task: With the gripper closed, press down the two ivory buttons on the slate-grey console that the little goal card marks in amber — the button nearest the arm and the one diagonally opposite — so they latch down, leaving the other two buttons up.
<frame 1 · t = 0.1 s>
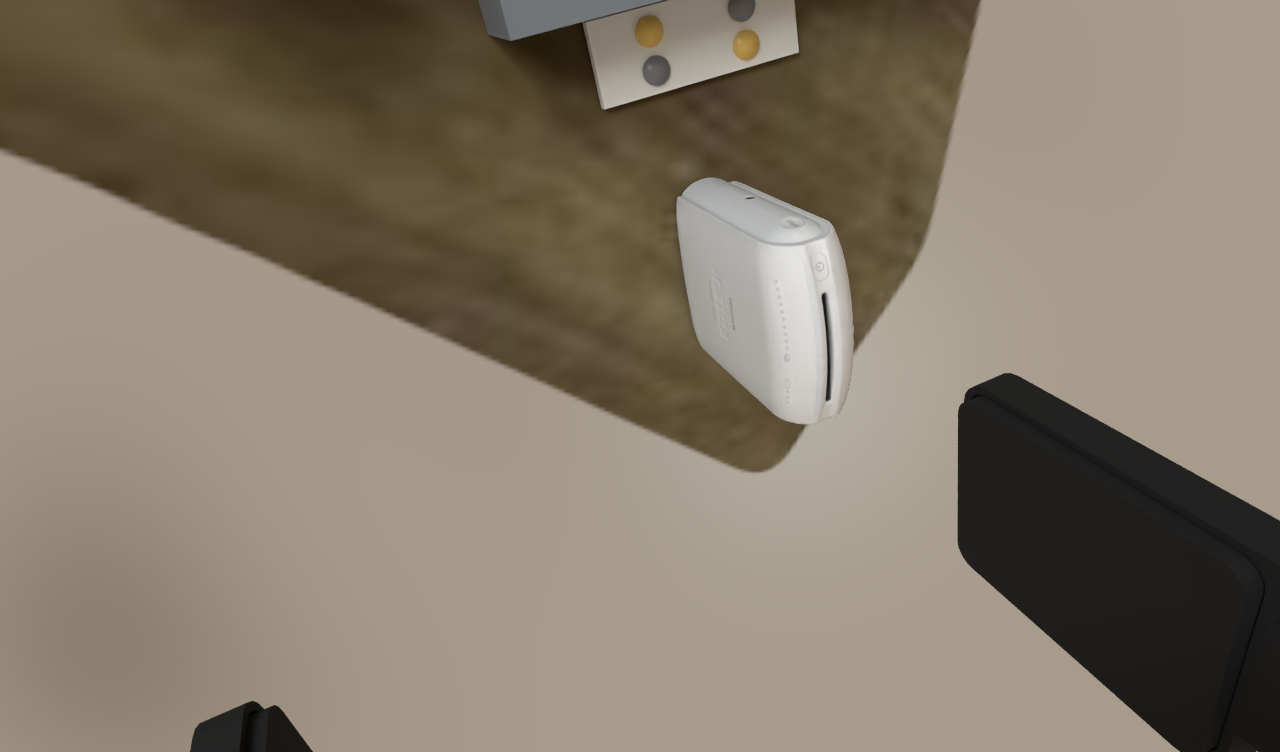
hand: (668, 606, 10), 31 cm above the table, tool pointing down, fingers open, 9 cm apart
goal card: (694, 37, 38), on the table
photo printer: (710, 261, 44), on the table
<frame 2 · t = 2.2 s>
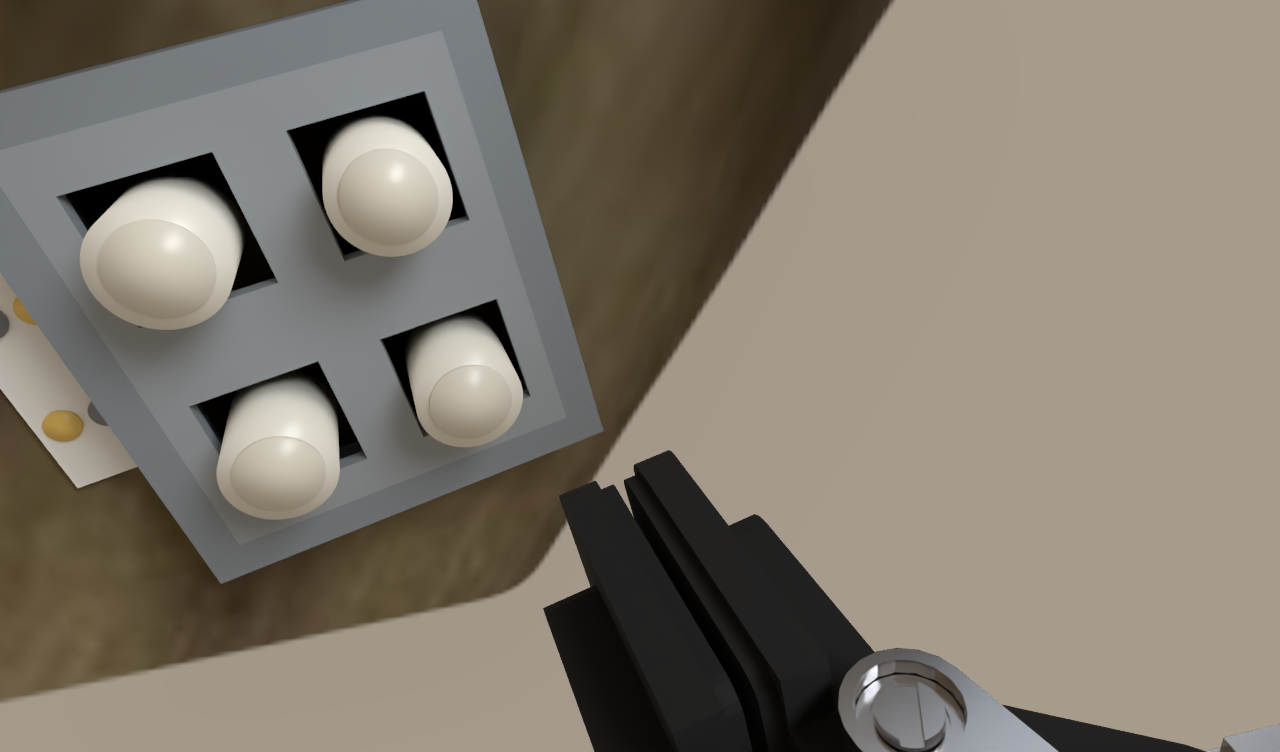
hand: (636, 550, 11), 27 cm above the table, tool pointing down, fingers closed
button C: (171, 248, 26), point 6 cm above the table, slide at 0.0 cm
goal card: (54, 362, 32), on the table
button D: (282, 443, 31), point 6 cm above the table, slide at 0.0 cm
button A: (385, 182, 28), point 6 cm above the table, slide at 0.0 cm
console: (329, 272, 34), on the table
button B: (462, 377, 32), point 6 cm above the table, slide at 0.0 cm
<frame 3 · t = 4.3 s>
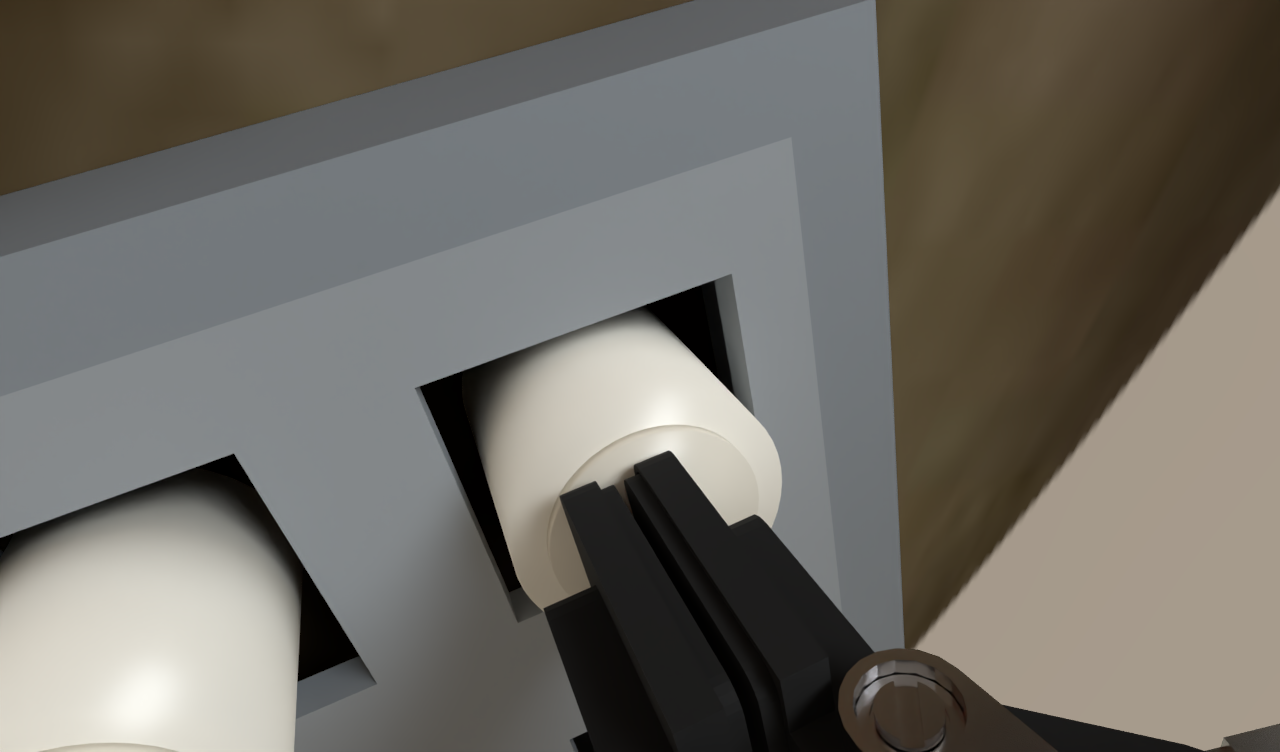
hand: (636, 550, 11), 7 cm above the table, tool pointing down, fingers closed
button C: (130, 690, 10), point 6 cm above the table, slide at 0.0 cm
button A: (607, 442, 13), point 4 cm above the table, slide at 1.3 cm, touching gripper
console: (446, 545, 18), on the table
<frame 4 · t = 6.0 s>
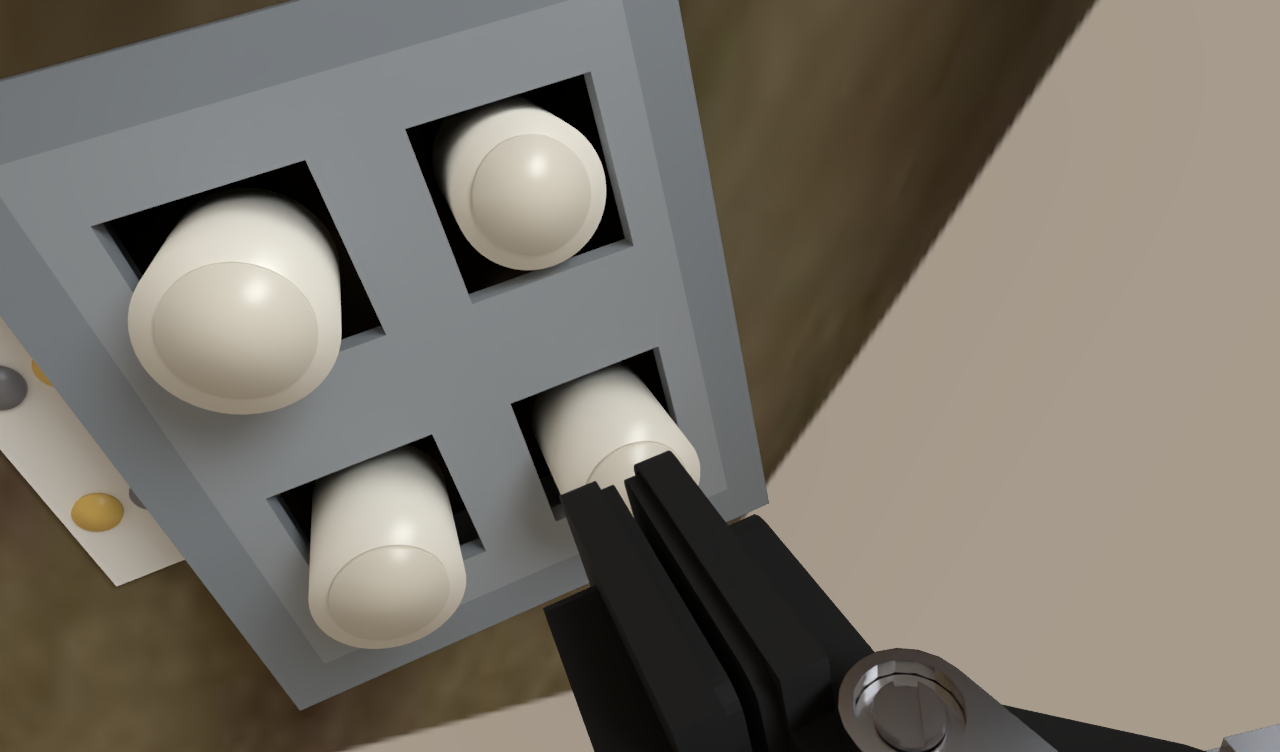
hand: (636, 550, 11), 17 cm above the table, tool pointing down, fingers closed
button C: (249, 296, 19), point 6 cm above the table, slide at 0.0 cm
goal card: (85, 433, 24), on the table
button D: (385, 541, 23), point 6 cm above the table, slide at 0.0 cm
button A: (514, 177, 22), point 3 cm above the table, slide at 2.7 cm
console: (432, 309, 26), on the table
button B: (612, 448, 25), point 6 cm above the table, slide at 0.0 cm
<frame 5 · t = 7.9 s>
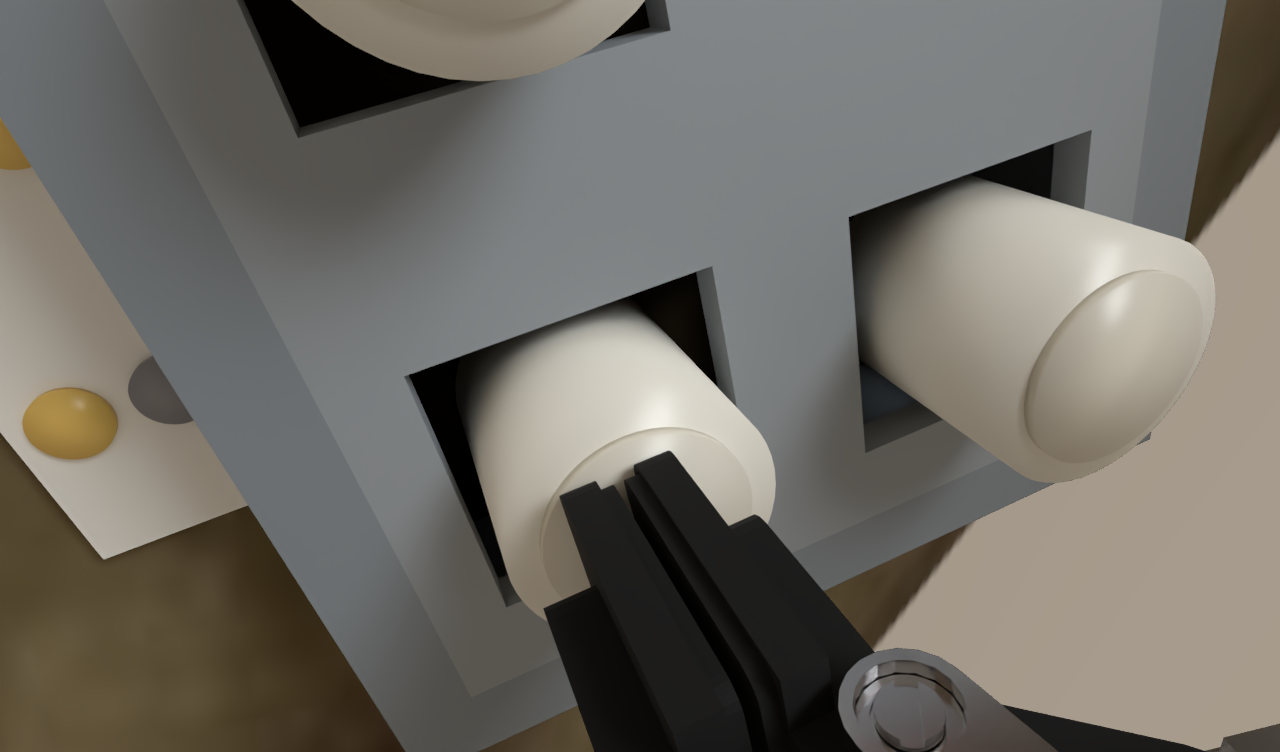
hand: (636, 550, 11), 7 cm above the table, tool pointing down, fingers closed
goal card: (50, 274, 13), on the table
button D: (601, 444, 13), point 5 cm above the table, slide at 0.9 cm, touching gripper
console: (650, 92, 16), on the table
button B: (1001, 315, 14), point 6 cm above the table, slide at 0.0 cm
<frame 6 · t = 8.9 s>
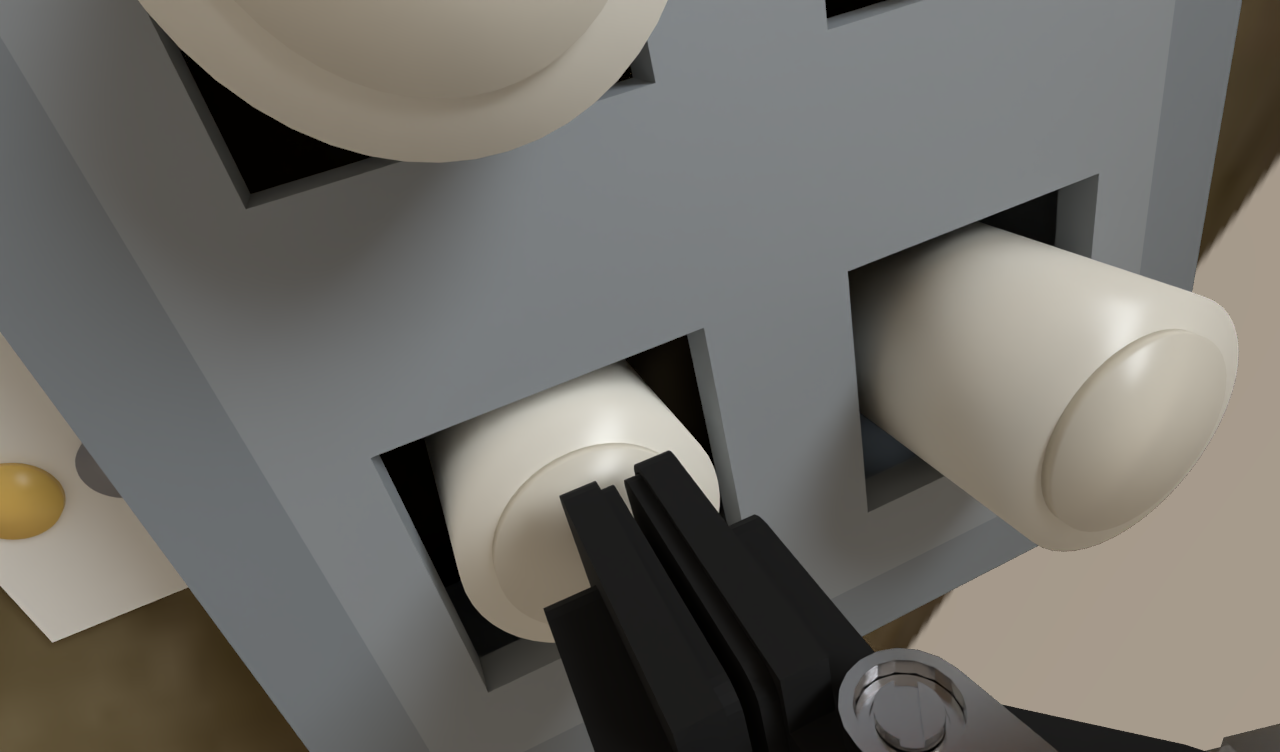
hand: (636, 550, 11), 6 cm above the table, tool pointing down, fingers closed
button D: (556, 460, 14), point 3 cm above the table, slide at 2.6 cm
console: (634, 134, 15), on the table
button B: (1009, 369, 13), point 6 cm above the table, slide at 0.0 cm
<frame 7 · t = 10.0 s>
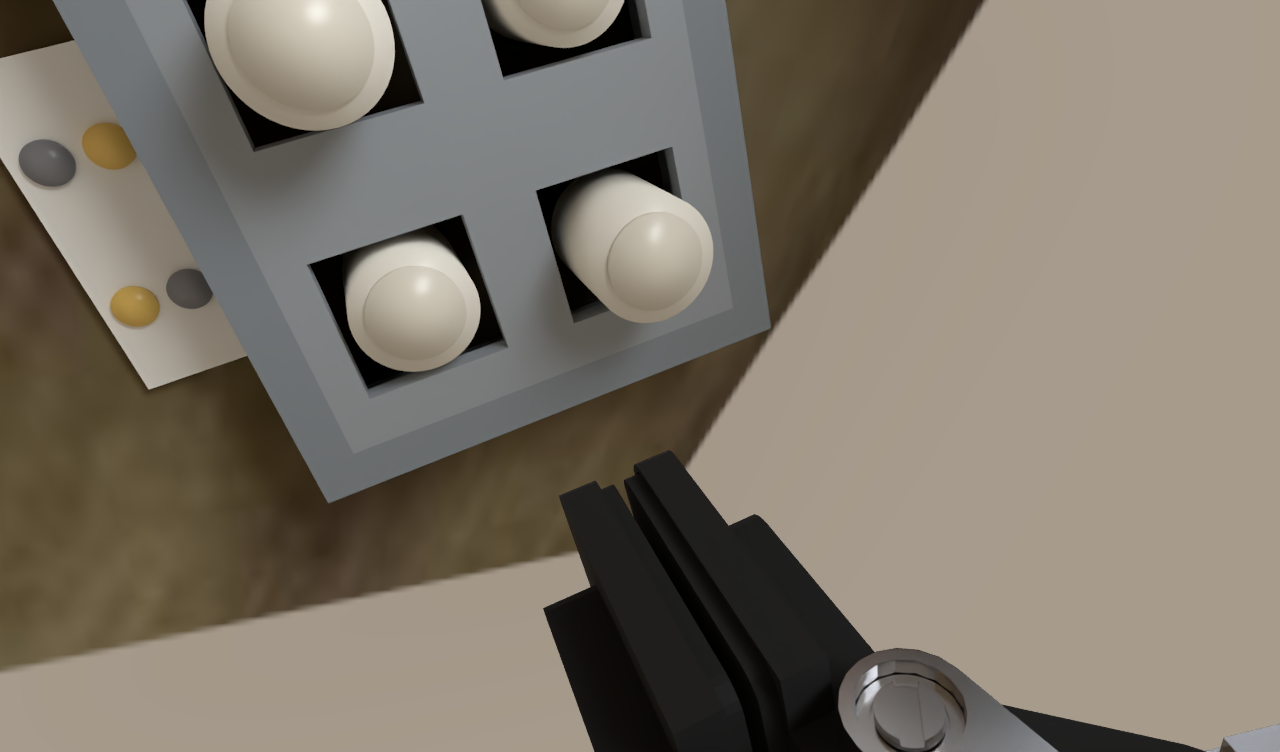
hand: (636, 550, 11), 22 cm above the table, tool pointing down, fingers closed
button C: (304, 36, 20), point 6 cm above the table, slide at 0.0 cm
goal card: (126, 225, 25), on the table
button D: (408, 291, 27), point 3 cm above the table, slide at 2.6 cm
console: (456, 127, 28), on the table
button B: (629, 242, 26), point 6 cm above the table, slide at 0.0 cm
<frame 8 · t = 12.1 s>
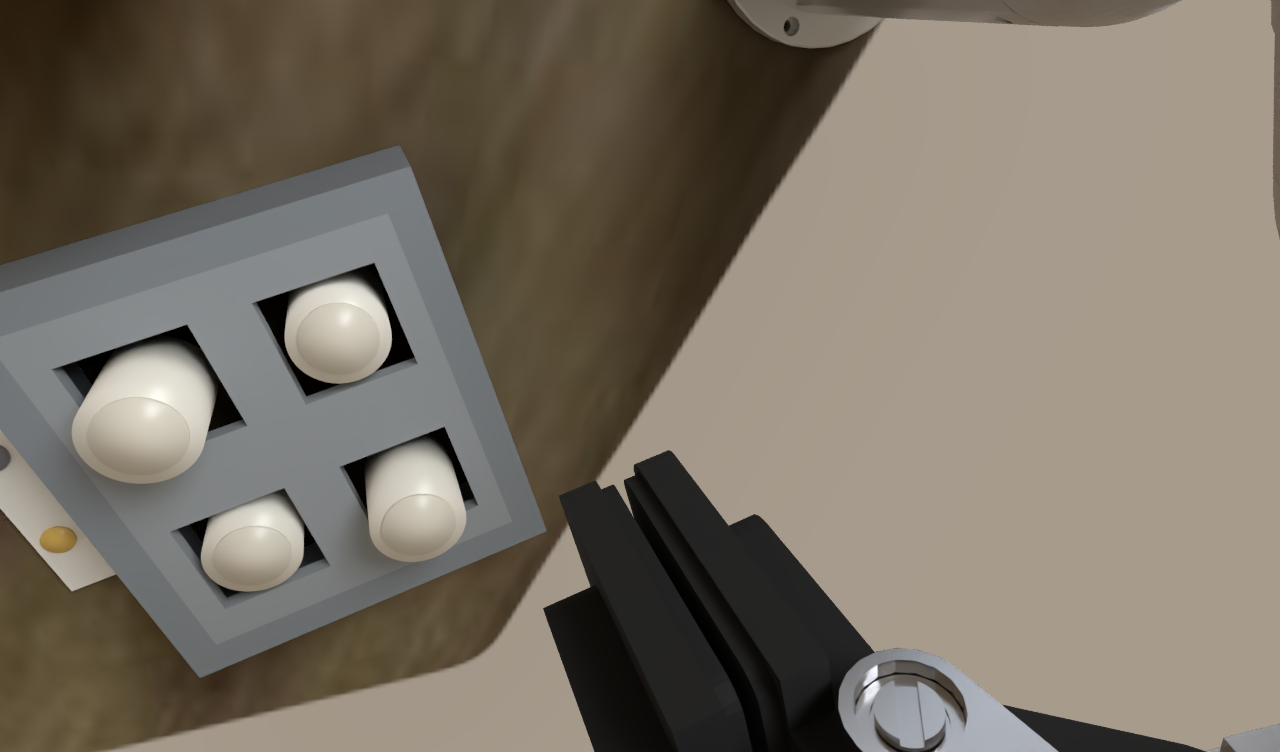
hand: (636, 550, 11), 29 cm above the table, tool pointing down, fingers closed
button C: (151, 407, 30), point 6 cm above the table, slide at 0.0 cm
goal card: (50, 485, 36), on the table
button D: (256, 525, 37), point 3 cm above the table, slide at 2.6 cm
button A: (338, 319, 34), point 3 cm above the table, slide at 2.7 cm
console: (297, 396, 38), on the table
button B: (413, 496, 36), point 6 cm above the table, slide at 0.0 cm
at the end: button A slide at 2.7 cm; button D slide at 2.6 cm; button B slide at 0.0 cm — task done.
